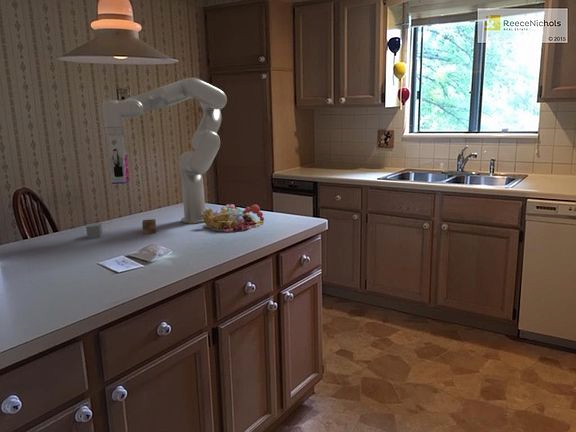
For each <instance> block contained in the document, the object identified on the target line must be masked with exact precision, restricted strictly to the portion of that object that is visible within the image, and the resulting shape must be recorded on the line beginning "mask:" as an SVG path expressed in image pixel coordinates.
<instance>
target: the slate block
mask: <svg viewBox="0 0 576 432" xmlns="http://www.w3.org/2000/svg"><path fill="white" fill-rule="evenodd" d="M102 226H103V225H102V223H101V222H99V223H88V224H87V225H86V227H85V229H86V236H87V237H86V238H87V239H97V238H98V239H99V238H101V237H102V236H103V234H104V233H103V227H102Z"/></svg>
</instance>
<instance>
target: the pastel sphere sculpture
mask: <svg viewBox="0 0 576 432" xmlns="http://www.w3.org/2000/svg"><path fill="white" fill-rule="evenodd" d="M205 209H206V213H204V212H202V213H201V214H202V217H203V220H204V222H203V223H205V224H204V225H203V229H204V228H205V229H211V230H212V231H217V232H236V233H237V231H243V232H244V231H247V230H251V229H252V228H259V227H261V226H263V225H264V223H265V222H264V221H265V217H264V213H263V212H262V211H261V208H260V206H259V205H258V204H253V205H251V206H247V207H245V209H244V210H243V209H242V208H241V207H236V206H235V204H226V205H225V206H222V207H221V208H220V212H218V210H216V211H214V210H213V209H212V208H205ZM213 212H214V216H213ZM254 215H256V216H257V218H259V219H257V218H255V216H254Z"/></svg>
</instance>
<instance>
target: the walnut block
mask: <svg viewBox="0 0 576 432" xmlns="http://www.w3.org/2000/svg"><path fill="white" fill-rule="evenodd" d="M141 225H142V234H143V235H149V234H150V235H152V234H156V233H157V223H156V219H155V218H152V219H143V220H142V223H141Z"/></svg>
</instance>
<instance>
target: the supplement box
mask: <svg viewBox="0 0 576 432" xmlns="http://www.w3.org/2000/svg"><path fill="white" fill-rule="evenodd" d="M112 158H113V157H112ZM108 159H109V166H110V167H109V171H110V177H111V184H112V185H118V184H119V185H122V184H124V185H125V184H127V183H128V182H130V173H129V172H130V171H129V160H128V154H126V155H125V159H124V160H122V159H121V167H122V171H123V176H122V177H115V175H114V163H113V160H112V159H111V155H109V156H108ZM117 159H119V158H117Z"/></svg>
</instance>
